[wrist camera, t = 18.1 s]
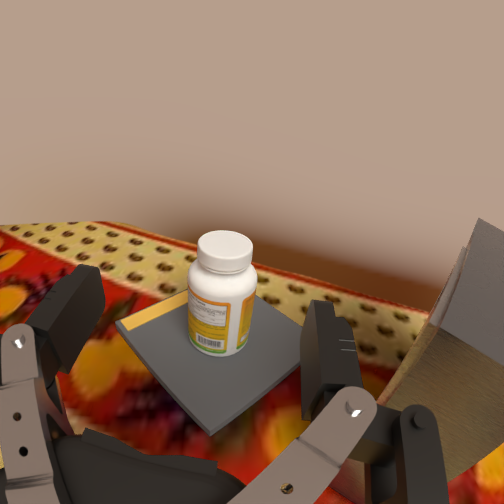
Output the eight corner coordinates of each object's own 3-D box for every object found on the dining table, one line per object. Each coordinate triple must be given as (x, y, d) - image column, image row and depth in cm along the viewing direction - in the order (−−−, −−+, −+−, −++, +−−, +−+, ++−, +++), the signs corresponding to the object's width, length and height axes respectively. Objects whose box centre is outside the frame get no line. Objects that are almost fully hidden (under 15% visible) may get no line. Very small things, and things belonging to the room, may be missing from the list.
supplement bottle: (232, 310, 31) (243, 221, 26) (258, 349, 27) (276, 256, 22) (180, 322, 29) (179, 230, 24) (200, 365, 25) (202, 269, 20)
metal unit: (313, 475, 18) (430, 321, 10) (408, 349, 30) (474, 215, 21) (384, 521, 14) (560, 402, 6) (457, 379, 26) (537, 252, 17)
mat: (116, 329, 28) (114, 321, 27) (223, 279, 37) (223, 271, 36) (210, 436, 20) (210, 430, 19) (319, 347, 29) (322, 340, 29)
